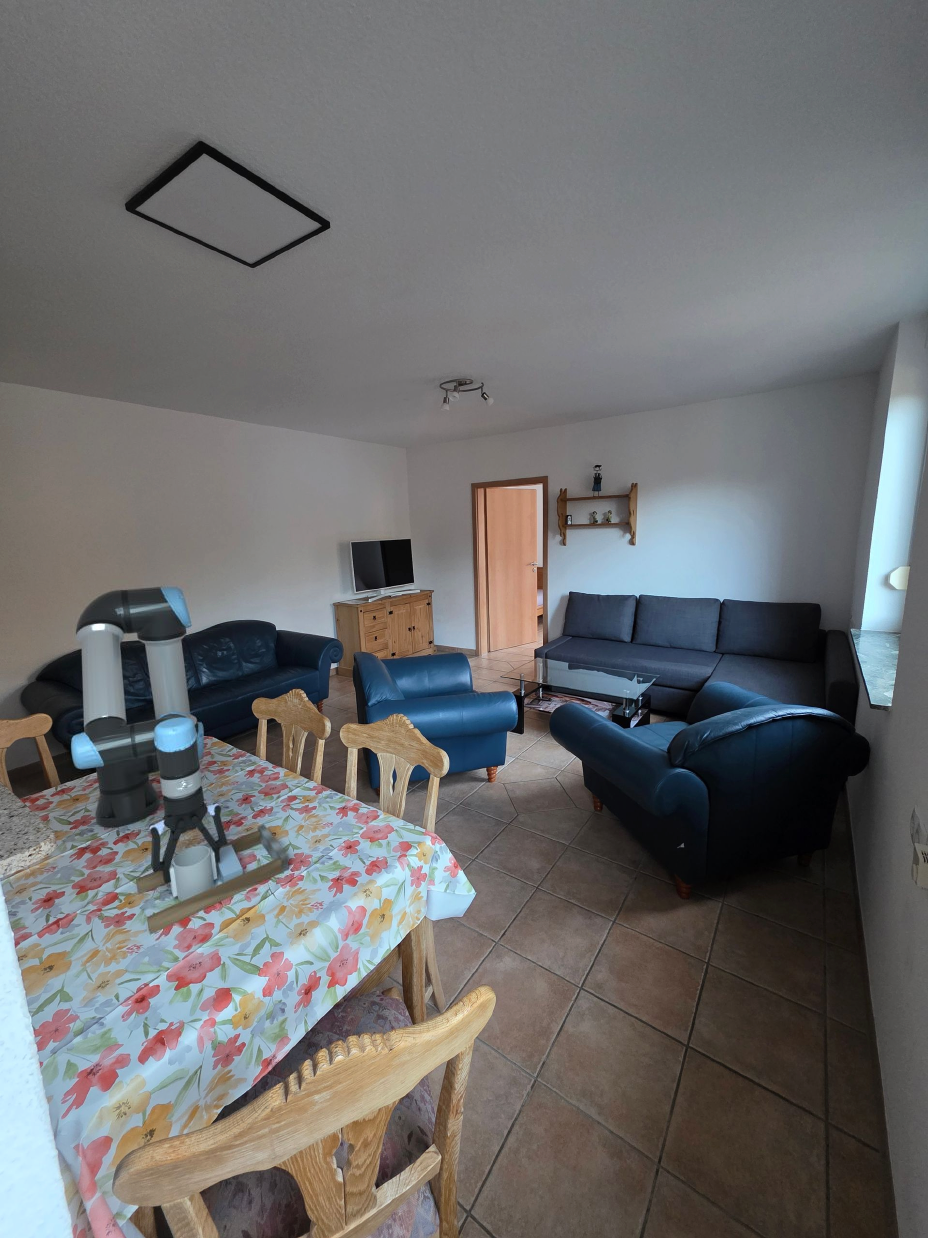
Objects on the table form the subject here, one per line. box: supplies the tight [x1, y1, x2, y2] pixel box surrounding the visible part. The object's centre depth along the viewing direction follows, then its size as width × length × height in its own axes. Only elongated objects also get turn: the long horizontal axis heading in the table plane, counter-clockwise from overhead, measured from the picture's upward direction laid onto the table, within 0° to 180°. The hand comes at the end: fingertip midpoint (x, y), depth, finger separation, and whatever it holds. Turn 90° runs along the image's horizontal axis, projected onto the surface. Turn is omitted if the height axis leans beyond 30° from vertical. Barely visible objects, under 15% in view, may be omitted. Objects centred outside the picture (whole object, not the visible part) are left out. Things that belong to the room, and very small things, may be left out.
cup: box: [172, 845, 215, 902], centre depth 108 cm, size 7×10×9 cm
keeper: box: [216, 845, 244, 884], centre depth 113 cm, size 11×4×4 cm, turn 37°
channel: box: [135, 823, 289, 935], centre depth 111 cm, size 16×28×4 cm, turn 131°
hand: (194, 884), depth 109 cm, fingers closed on cup, 7 cm apart
